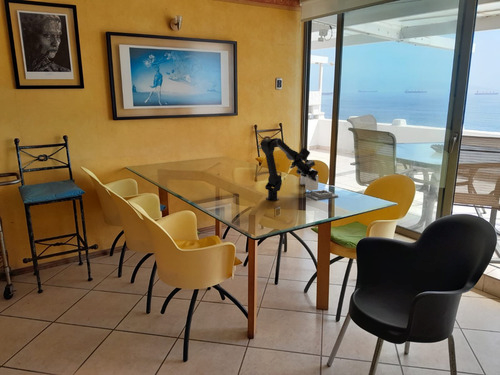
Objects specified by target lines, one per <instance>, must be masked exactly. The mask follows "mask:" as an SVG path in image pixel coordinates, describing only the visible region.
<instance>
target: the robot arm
mask: <svg viewBox="0 0 500 375" xmlns="http://www.w3.org/2000/svg"><path fill="white" fill-rule="evenodd" d="M277 147H278V149H280V150H281V151H282V152H283V153H284V154H285V156H286V158H287V159H288V160H289V161H292V162H291V167H296V168H297V169H296V174H297V175H299V176H300V177H301V176H304V177H306V175H308V178H309V179H312V180H314V181H316V177H315V176H316V175H318V174H319V170H316V169H314V170H312V171H310V170H311V168H313V167H314V166H316V163H315V161H314V160H313V159H308V157H309V156H310V154H311V152H310V150H308V149H307V148H305V147H302V148H301V150H300V151H299V152H298V151H297V150H294V149H292V148H290V146H288V145H287V143H286V142H284V141H283V140H282V138H279V137H278V138H277V137H274V138H269V139H262V140H261V142H260V149H261V151H262V152H263V153H264V156H265V159H266V164H267V169H268V174H269V176H268V181H267V183H266V185H264V186H265V187H264V189H265V190H267V197H265V199H266V200H267V201H269V202H273V201H279V200H280V198H278V192H280V190H281V187H282V183H283V180H282V176H281V175H279V174H278V171H277V167H276V166H277V165H276V162H275V161H276V160H275V157H274V156H275V154H274V152H275V149H276V148H277Z"/></svg>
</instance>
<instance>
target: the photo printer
mask: <svg viewBox="0 0 500 375" xmlns="http://www.w3.org/2000/svg"><path fill="white" fill-rule="evenodd" d="M312 170H315V169H314V168H313V167H311V170H310V171H312ZM299 184H300V185H306V177H304V176H301V175H300V183H299Z"/></svg>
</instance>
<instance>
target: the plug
mask: <svg viewBox="0 0 500 375" xmlns="http://www.w3.org/2000/svg"><path fill="white" fill-rule="evenodd" d="M315 177H316V181H314V180H312V179H309V178H308V175H306V184H305V188H304V189H305V190H306V191H311V192H312V191H319V175H318V174H317V175H316V176H315Z"/></svg>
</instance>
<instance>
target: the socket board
mask: <svg viewBox="0 0 500 375" xmlns="http://www.w3.org/2000/svg"><path fill="white" fill-rule="evenodd" d="M305 197H307V198H309V199H311V200H314V201H321V200H328V199H333V198H339V195H338V194H335V193H333V192H331V191H329V190H325V189H321V190H319V189H318V190H311V193H307V194H305Z"/></svg>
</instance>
